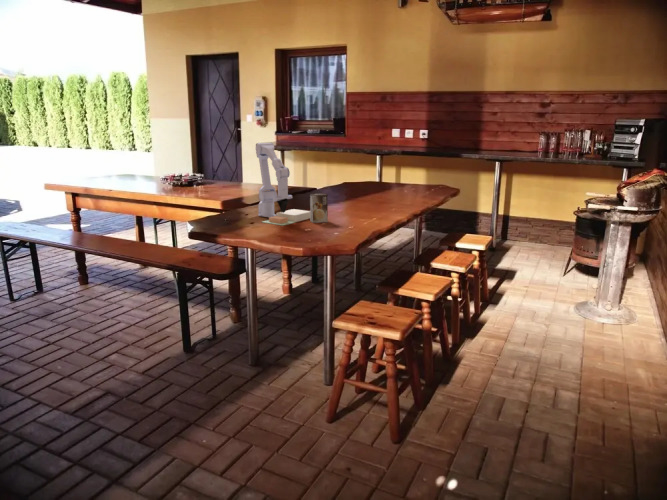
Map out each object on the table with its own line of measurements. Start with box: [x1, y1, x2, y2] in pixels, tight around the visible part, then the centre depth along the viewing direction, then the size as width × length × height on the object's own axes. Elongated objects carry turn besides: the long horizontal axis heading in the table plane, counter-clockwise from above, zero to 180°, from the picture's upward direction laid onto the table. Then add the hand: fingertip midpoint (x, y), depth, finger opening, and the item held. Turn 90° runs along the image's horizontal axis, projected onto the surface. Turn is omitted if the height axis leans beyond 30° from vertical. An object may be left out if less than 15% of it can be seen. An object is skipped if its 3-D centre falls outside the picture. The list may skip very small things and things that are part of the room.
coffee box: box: [309, 193, 329, 224], centre depth 305 cm, size 9×6×16 cm
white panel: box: [276, 208, 310, 223], centre depth 314 cm, size 14×16×4 cm
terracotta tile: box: [268, 216, 288, 224], centre depth 303 cm, size 9×6×2 cm, turn 55°
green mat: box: [261, 219, 297, 227], centre depth 304 cm, size 16×12×1 cm
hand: (283, 212), depth 305 cm, fingers closed
